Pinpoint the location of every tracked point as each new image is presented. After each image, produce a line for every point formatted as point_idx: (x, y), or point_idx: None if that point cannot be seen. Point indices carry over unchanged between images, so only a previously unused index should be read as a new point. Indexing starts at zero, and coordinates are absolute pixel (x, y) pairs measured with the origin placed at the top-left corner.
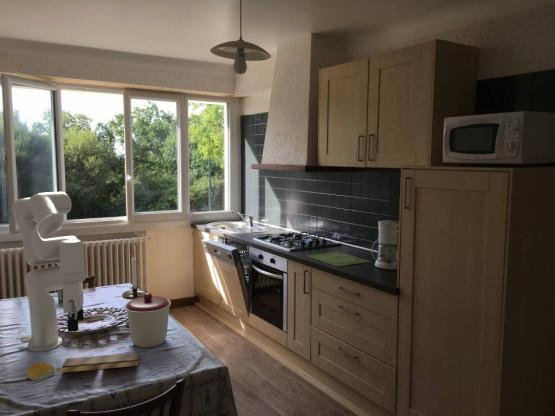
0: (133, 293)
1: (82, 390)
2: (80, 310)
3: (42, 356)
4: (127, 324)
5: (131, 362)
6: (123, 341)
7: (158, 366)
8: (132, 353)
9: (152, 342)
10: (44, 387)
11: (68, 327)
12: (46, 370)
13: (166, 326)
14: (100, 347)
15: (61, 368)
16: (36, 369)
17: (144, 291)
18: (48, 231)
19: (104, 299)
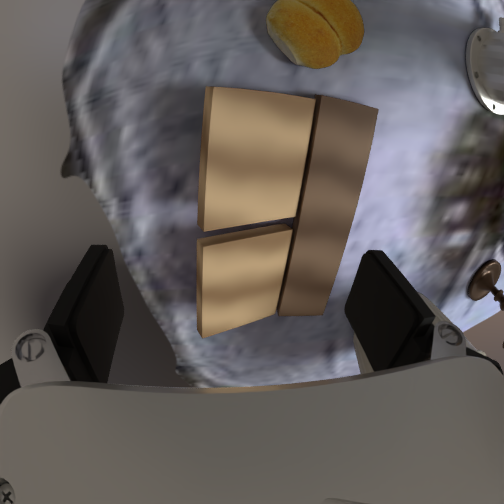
0: None
1: (150, 175)
2: (384, 366)
3: (439, 47)
4: (489, 265)
5: (201, 328)
6: (429, 261)
7: (247, 342)
8: (324, 301)
9: (354, 340)
10: (206, 48)
11: (82, 270)
12: (290, 42)
13: None
14: (429, 207)
15: (210, 106)
16: (301, 10)
17: None
18: None
19: None
